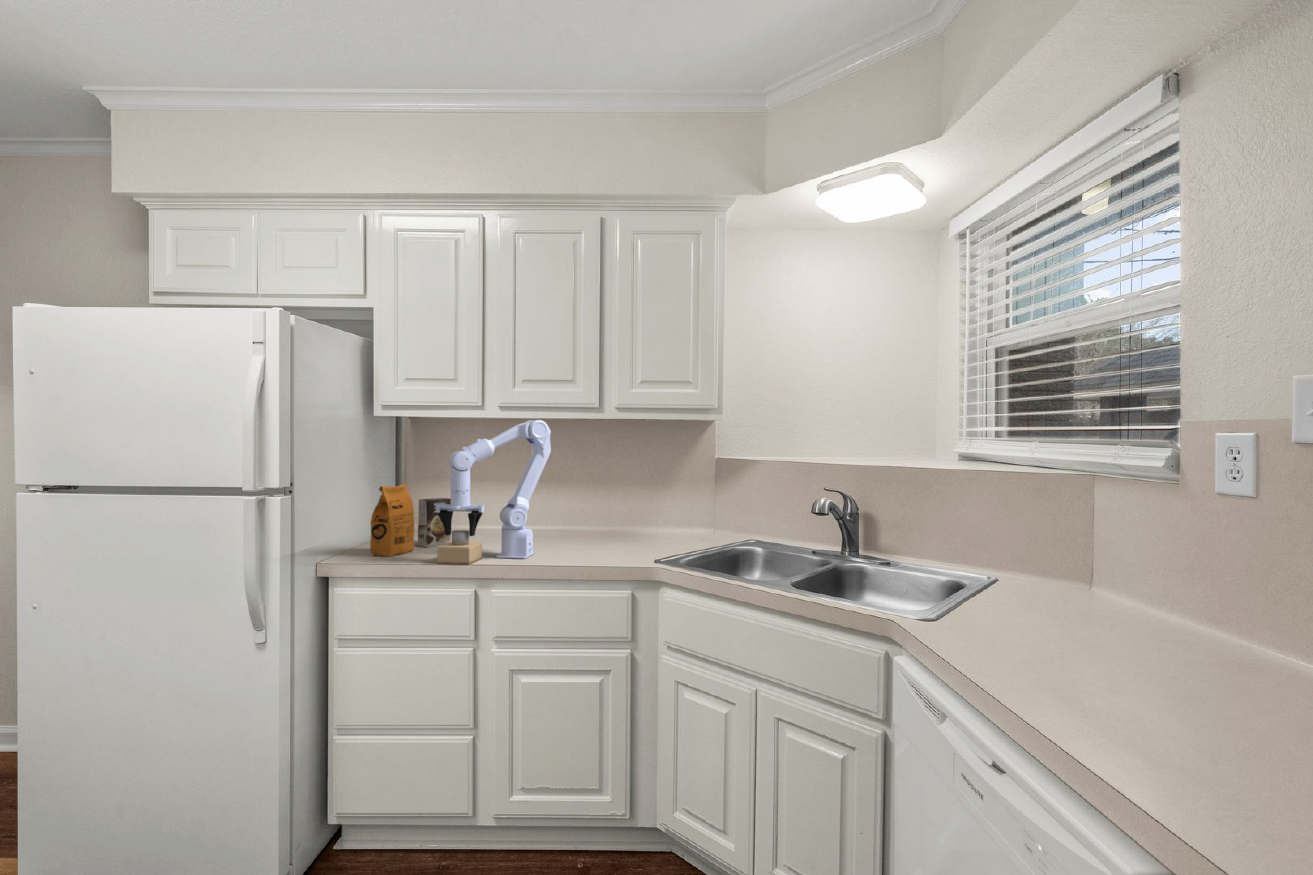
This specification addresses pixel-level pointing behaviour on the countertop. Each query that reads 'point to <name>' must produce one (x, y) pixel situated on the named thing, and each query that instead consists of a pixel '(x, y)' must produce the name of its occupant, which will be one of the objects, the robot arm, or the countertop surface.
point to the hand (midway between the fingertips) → (460, 535)
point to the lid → (466, 547)
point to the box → (459, 556)
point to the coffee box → (431, 523)
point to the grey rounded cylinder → (460, 537)
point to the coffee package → (392, 522)
